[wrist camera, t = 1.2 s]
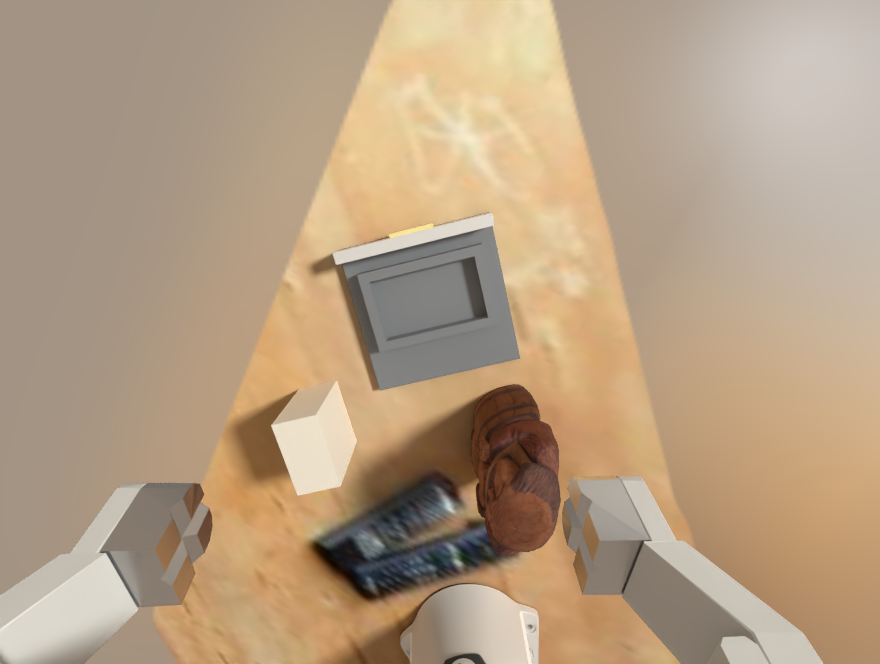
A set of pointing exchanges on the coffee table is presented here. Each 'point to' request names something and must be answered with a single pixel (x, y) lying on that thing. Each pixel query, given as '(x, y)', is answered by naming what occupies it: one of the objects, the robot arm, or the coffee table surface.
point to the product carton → (315, 438)
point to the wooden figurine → (515, 470)
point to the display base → (431, 300)
